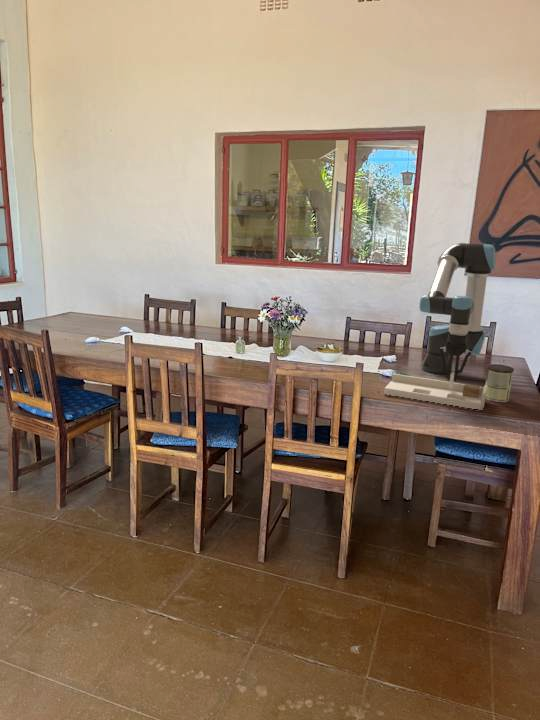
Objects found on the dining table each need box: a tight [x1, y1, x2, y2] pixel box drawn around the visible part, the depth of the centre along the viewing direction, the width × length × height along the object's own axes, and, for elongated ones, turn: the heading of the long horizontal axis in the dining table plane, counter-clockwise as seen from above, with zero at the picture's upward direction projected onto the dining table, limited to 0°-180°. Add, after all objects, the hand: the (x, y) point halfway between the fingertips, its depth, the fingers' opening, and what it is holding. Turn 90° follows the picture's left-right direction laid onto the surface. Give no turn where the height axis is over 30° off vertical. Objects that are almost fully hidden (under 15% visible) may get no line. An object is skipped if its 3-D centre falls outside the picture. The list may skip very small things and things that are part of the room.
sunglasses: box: [390, 370, 412, 382], centre depth 244 cm, size 14×15×5 cm
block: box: [463, 383, 481, 398], centre depth 219 cm, size 5×6×4 cm
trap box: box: [383, 373, 488, 411], centre depth 224 cm, size 15×40×7 cm, turn 65°
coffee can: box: [485, 364, 515, 403], centre depth 225 cm, size 10×10×14 cm
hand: (450, 387), depth 224 cm, fingers closed
